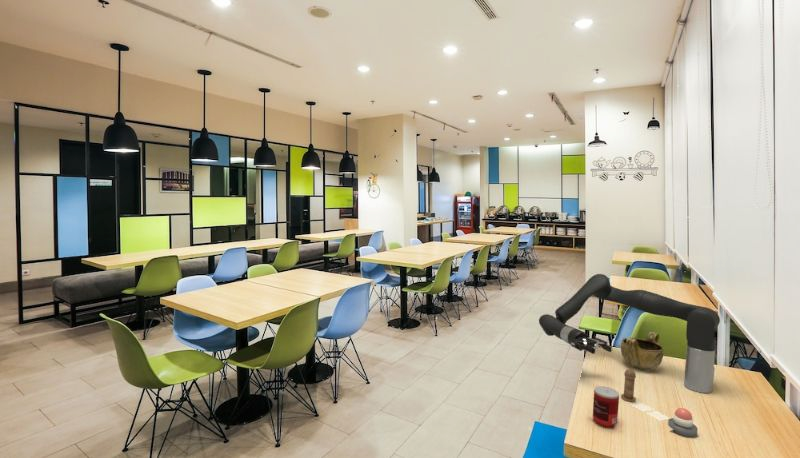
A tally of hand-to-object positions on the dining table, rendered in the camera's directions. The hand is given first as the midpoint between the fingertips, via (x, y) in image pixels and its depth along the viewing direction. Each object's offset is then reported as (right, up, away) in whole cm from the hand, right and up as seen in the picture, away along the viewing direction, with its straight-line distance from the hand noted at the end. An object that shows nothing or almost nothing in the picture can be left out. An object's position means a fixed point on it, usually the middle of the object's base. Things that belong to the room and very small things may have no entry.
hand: (602, 350), depth 163 cm
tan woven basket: (+29, -15, +23) cm, 40 cm away
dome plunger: (+12, -16, -29) cm, 35 cm away
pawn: (+5, -15, -10) cm, 19 cm away
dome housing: (+12, -18, -29) cm, 36 cm away
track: (+6, -17, -16) cm, 24 cm away
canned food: (-12, -17, -24) cm, 32 cm away
